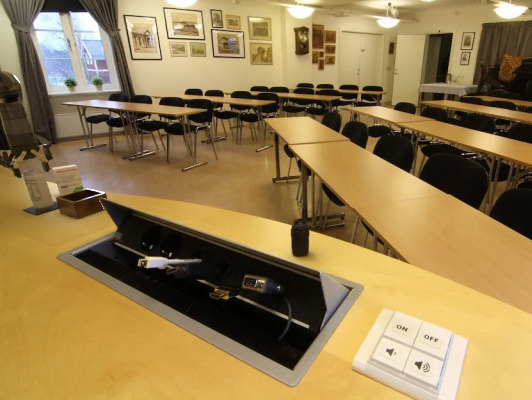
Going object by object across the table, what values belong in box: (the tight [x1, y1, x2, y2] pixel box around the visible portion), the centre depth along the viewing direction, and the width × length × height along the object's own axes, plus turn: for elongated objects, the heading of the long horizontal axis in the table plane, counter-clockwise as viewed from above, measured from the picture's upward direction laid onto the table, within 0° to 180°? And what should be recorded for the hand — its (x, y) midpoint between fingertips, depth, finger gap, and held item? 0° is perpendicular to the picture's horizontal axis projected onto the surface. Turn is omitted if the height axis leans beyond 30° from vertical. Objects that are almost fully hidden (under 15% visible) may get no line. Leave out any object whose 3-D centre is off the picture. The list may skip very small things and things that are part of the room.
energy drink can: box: [22, 168, 54, 210], centre depth 122 cm, size 6×6×15 cm
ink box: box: [51, 164, 85, 196], centre depth 140 cm, size 8×5×12 cm, turn 134°
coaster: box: [22, 200, 59, 216], centre depth 125 cm, size 10×10×1 cm
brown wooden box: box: [55, 187, 108, 220], centre depth 123 cm, size 12×12×6 cm
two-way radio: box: [290, 206, 310, 257], centre depth 92 cm, size 6×4×15 cm
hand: (33, 174), depth 120 cm, fingers open, 8 cm apart
